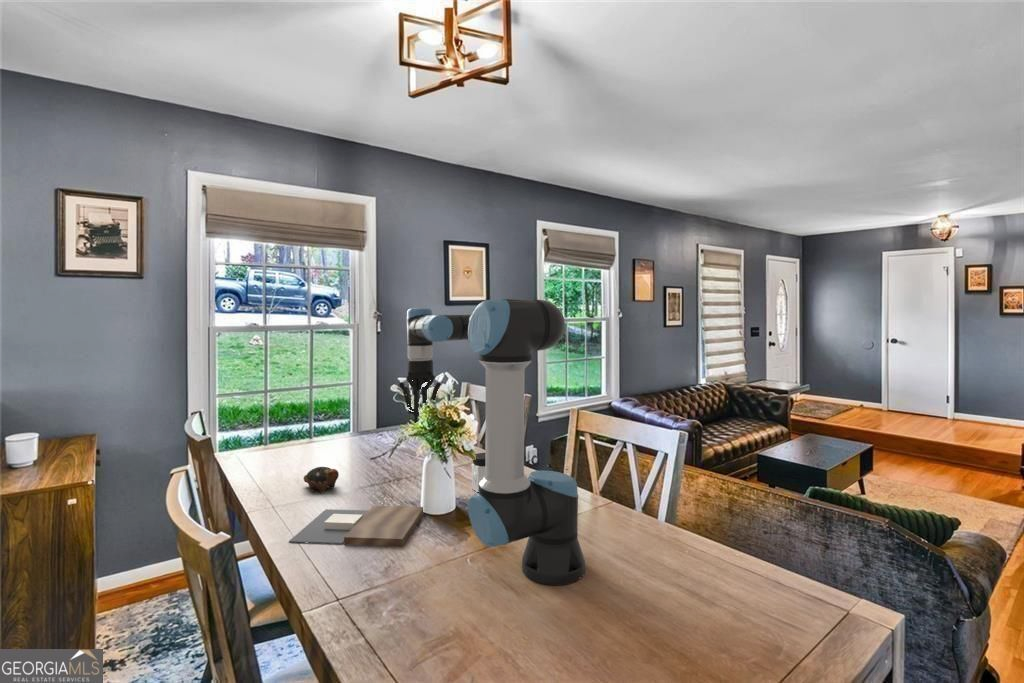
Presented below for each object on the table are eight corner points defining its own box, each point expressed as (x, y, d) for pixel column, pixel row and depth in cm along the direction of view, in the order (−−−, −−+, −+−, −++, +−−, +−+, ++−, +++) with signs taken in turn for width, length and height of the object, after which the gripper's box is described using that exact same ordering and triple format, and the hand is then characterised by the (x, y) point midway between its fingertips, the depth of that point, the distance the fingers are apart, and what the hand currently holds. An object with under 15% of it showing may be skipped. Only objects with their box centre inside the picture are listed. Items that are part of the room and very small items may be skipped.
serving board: (423, 513, 154) (423, 506, 154) (402, 546, 132) (402, 538, 132) (373, 511, 155) (373, 505, 155) (344, 544, 133) (343, 537, 133)
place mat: (372, 511, 155) (372, 510, 155) (342, 544, 133) (342, 542, 133) (325, 510, 156) (325, 509, 156) (288, 542, 134) (288, 541, 134)
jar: (468, 488, 176) (467, 454, 175) (487, 483, 180) (487, 451, 180) (481, 495, 168) (481, 460, 168) (501, 490, 173) (501, 456, 172)
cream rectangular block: (362, 521, 147) (362, 514, 147) (354, 530, 141) (354, 523, 141) (333, 520, 148) (333, 513, 148) (324, 529, 142) (323, 522, 142)
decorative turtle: (331, 495, 169) (328, 473, 168) (295, 493, 174) (292, 471, 173) (349, 485, 178) (346, 463, 178) (314, 483, 183) (312, 462, 183)
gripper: (444, 358, 153) (445, 433, 155) (403, 358, 154) (404, 433, 156) (438, 360, 146) (439, 439, 147) (395, 360, 147) (396, 439, 148)
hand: (421, 436), depth 151 cm, fingers closed
